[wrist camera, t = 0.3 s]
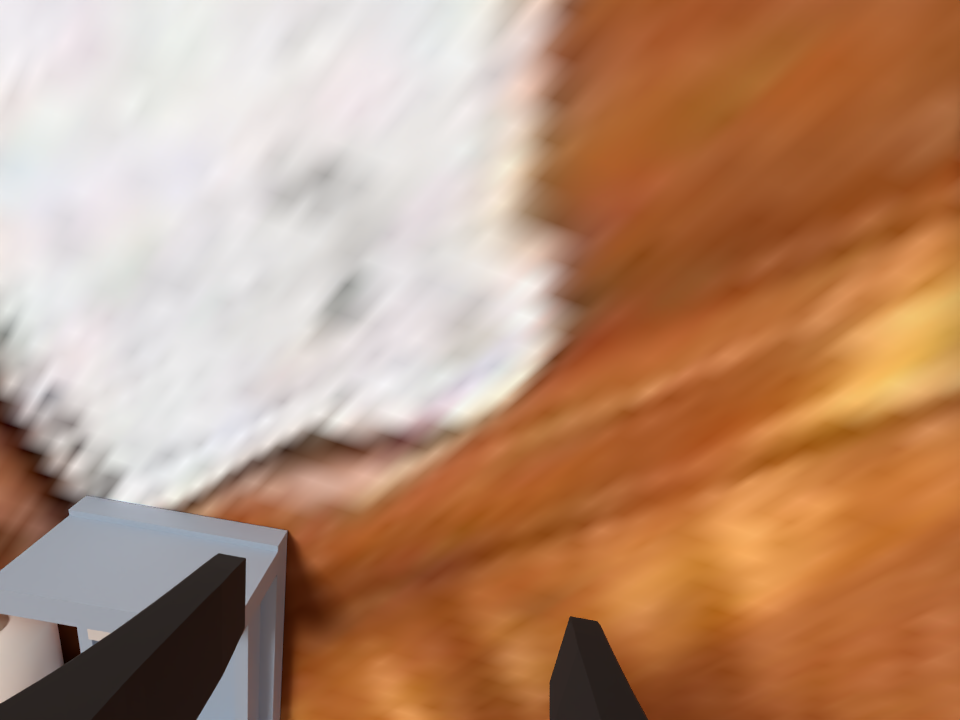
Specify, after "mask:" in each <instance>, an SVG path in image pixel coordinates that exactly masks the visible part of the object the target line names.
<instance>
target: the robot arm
mask: <svg viewBox="0 0 960 720" xmlns="http://www.w3.org/2000/svg"><path fill="white" fill-rule="evenodd" d="M245 596H246V558H243V557H237V556H232V555H226V554H221V553H218V554H217V555H215V556H214V557H212V558H211V559H210V560H208V561H207V562H206V563H204V564H203V565H202V566H200V567H199V568H198V569H197V570H195V571H194V572H193V573H191V574H190V575H189V576H187V577H186V578H185V579H184V580H182V581H181V582H180V583H178V584H177V585H176V586H174V587H173V588H172V589H171V590H169V591H168V592H167V593H165V594H164V595H163V596H161V597H160V598H159V599H157V600H156V601H155V602H153V603H152V604H151V605H149V606H148V607H146V608H145V609H144V610H142V611H141V612H140V613H138V614H137V615H135V616H134V617H133V618H131V619H130V620H129V621H127V622H126V623H125V624H123V625H122V626H120V627H119V628H118V629H116V630H115V631H113V632H112V633H110V634H109V635H107V636H106V637H104V638H103V639H101V640H100V641H99V642H97V643H96V644H94V645H93V646H91V647H90V648H88V649H87V650H85V651H84V652H82V653H81V654H79V655H78V656H76V657H75V658H73V659H72V660H70V661H69V662H67V663H66V664H64V665H63V666H61V667H59V668H58V669H56V670H55V671H53V672H52V673H50V674H48V675H47V676H45V677H44V678H42V679H40V680H39V681H37V682H36V683H34V684H32V685H31V686H29V687H27V688H26V689H24V690H22V691H21V692H19V693H17V694H16V695H14V696H12V697H10V698H9V699H7V700H5V701H4V702H2V703H0V720H197V718H198V717H199V715H200V713H201V712H202V710H203V708H204V707H205V705H206V703H207V701H208V700H209V698H210V696H211V695H212V693H213V691H214V690H215V688H216V686H217V685H218V683H219V681H220V680H221V678H222V676H223V674H224V672H225V670H226V668H227V666H228V663H229V661H230V659H231V657H232V655H233V653H234V651H235V649H236V646H237V644H238V642H239V640H240V638H241V635H242V633H243V631H244V629H245ZM550 720H648V719H647V717H646V715H645V713H644V711H643V710H642V708H641V706H640V704H639V702H638V700H637V699H636V697H635V695H634V693H633V691H632V689H631V687H630V685H629V683H628V681H627V679H626V677H625V675H624V673H623V671H622V669H621V667H620V665H619V663H618V661H617V659H616V657H615V655H614V653H613V651H612V649H611V647H610V645H609V643H608V641H607V638H606V636H605V634H604V632H603V630H602V628H601V626H600V624H599V623H598V621H593V620H587V619H582V618H576V617H571V616H570V618H569V621H568V625H567V628H566V631H565V634H564V638H563V641H562V644H561V647H560V651H559V654H558V657H557V660H556V664H555V667H554V670H553V673H552V677H551V680H550Z"/></svg>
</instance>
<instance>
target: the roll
mask: <svg viewBox="0 0 960 720" xmlns="http://www.w3.org/2000/svg"><path fill="white" fill-rule="evenodd" d="M63 665H64V660H63V654H62V648H61V642H60V636H59V630H58V624H57V623H51V622H45V621H40V620H34V619H28V618H22V617H17V616H11V615H5V614H0V703H2V702H4V701H5V700H7V699H9V698H10V697H12V696H14V695H16V694H17V693H19V692H21V691H22V690H24V689H26V688H27V687H29V686H31V685H32V684H34V683H36V682H37V681H39V680H40V679H42V678H44V677H45V676H47V675H48V674H50V673H52V672H53V671H55V670H56V669H58V668H59V667H61V666H63Z"/></svg>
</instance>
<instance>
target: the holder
mask: <svg viewBox="0 0 960 720" xmlns="http://www.w3.org/2000/svg"><path fill="white" fill-rule="evenodd" d="M287 532H288V531H286V530H281V529H275V528H269V527H263V526H258V525H252V524H246V523H241V522H235V521H229V520H223V519H218V518H212V517H206V516H200V515H195V514H189V513H183V512H177V511H172V510H166V509H160V508H155V507H149V506H143V505H137V504H132V503H126V502H120V501H114V500H109V499H103V498H97V497H91V496H85V497H84V498H83V499H82V500H80V501H79V502H78V503H76V504H75V505H74V506H73V507H71V508H70V509H69V516H68V517H67V518H66V519H64V520H63V521H62V522H61V523H59V524H58V525H57V526H56V527H54V528H53V529H52V530H51V531H49V532H48V533H47V534H46V535H44V536H43V537H42V538H41V539H39V540H38V541H37V542H36V543H34V544H33V545H32V546H31V547H29V548H28V549H27V550H26V551H24V552H23V553H22V554H21V555H19V556H18V557H17V558H16V559H14V560H13V561H12V562H11V563H9V564H8V565H7V566H6V567H4V568H3V569H2V570H1V571H0V614H5V615H11V616H17V617H22V618H28V619H34V620H40V621H45V622H51V623H57V624H63V625H68V626H74V627H77V631H78V638H79V645H80V651H81V653H82V652H84V651H85V650H87V649H88V648H90V647H91V646H93V645H94V644H96V643H97V642H99V641H100V640H101V639H103V638H104V637H106V636H107V635H109V634H110V633H112V632H113V631H115V630H116V629H118V628H119V627H120V626H122V625H123V624H125V623H126V622H127V621H129V620H130V619H131V618H133V617H134V616H135V615H137V614H138V613H140V612H141V611H142V610H144V609H145V608H146V607H148V606H149V605H151V604H152V603H153V602H155V601H156V600H157V599H159V598H160V597H161V596H163V595H164V594H165V593H167V592H168V591H169V590H171V589H172V588H173V587H174V586H176V585H177V584H178V583H180V582H181V581H182V580H184V579H185V578H186V577H187V576H189V575H190V574H191V573H193V572H194V571H195V570H197V569H198V568H199V567H200V566H202V565H203V564H204V563H206V562H207V561H208V560H210V559H211V558H212V557H214V556H215V555H217V554H218V553H221V554H226V555H232V556H237V557H243V558H246V596H245V629H244V631H243V633H242V635H241V638H240V640H239V642H238V644H237V646H236V649H235V651H234V653H233V655H232V657H231V659H230V661H229V663H228V666H227V668H226V670H225V672H224V674H223V676H222V678H221V680H220V681H219V683H218V685H217V686H216V688H215V690H214V691H213V693H212V695H211V696H210V698H209V700H208V701H207V703H206V705H205V707H204V708H203V710H202V712H201V713H200V715H199V717H198V718H197V720H280V708H281V683H282V658H283V633H284V607H285V582H286V557H287Z"/></svg>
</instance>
